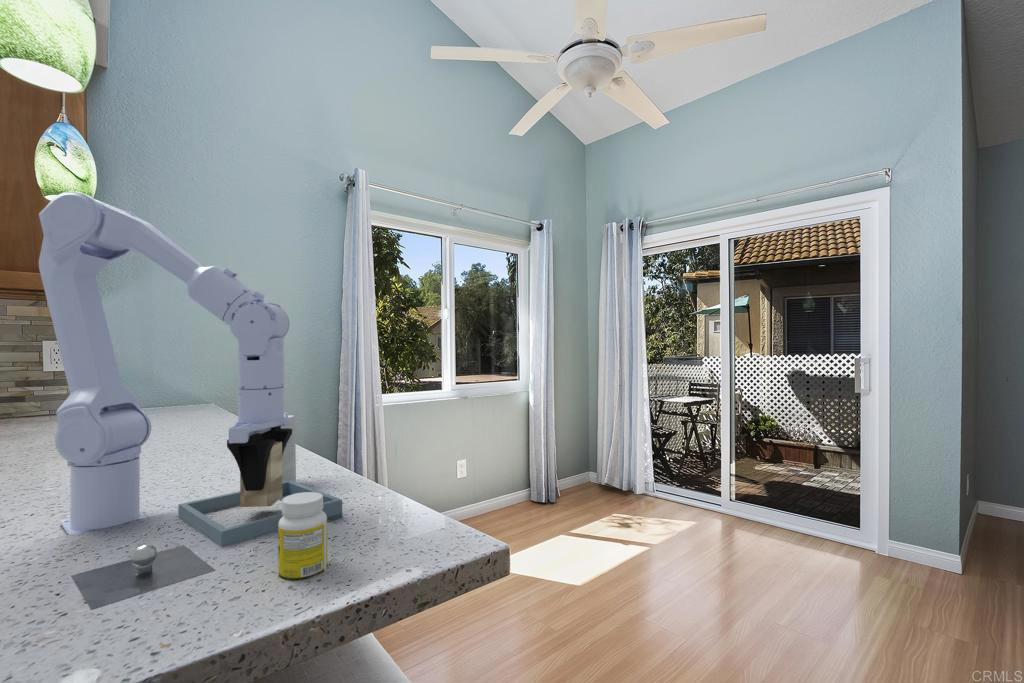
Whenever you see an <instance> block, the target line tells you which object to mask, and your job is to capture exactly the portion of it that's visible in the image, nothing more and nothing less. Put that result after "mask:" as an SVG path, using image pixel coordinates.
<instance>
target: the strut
mask: <svg viewBox="0 0 1024 683" xmlns="http://www.w3.org/2000/svg"><path fill="white" fill-rule="evenodd" d="M239 481H240V482H239V484H240V486H239V487H240V488H239V491H240V505H239V506H240V508H252V507H253V508H257V507H260V508H261V507H272V506H273V505H274V504H276V503H277V502H278V501H280V500H279V499H280V498H282V442H274V445H273V447H272V449H271V452H270V455H269V458H268V463H267V470H266V479H265V484H264V487H263V489H262V490H260V491H246V490H245V487H244V484H243V480H242V477H241V473H240V472H239Z"/></svg>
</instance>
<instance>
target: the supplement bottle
mask: <svg viewBox="0 0 1024 683" xmlns="http://www.w3.org/2000/svg"><path fill="white" fill-rule="evenodd" d="M322 509H323V495H322V494H320V493H316V492H303V493H296V494H292V495H289V496H287V497H285V498H283V500H282V501H281V514H282V515H284V516H283V517H282V518H281V519H280V520H279V524H278V531H277V534H278V538H277V540H278V544H277V546H278V577H279V578H280V579H282V580H284V581H290V582H291V581H293V582H294V581H295V582H296V581H305V580H308V579H312V578H314V577H316V576H319V575H321V574H323V573H324V572H325V571H327V568H328V522H327V516H326V514H325V513H324V512H323V511H322Z"/></svg>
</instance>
